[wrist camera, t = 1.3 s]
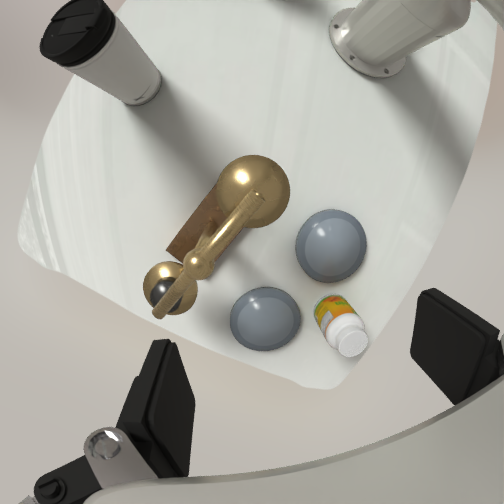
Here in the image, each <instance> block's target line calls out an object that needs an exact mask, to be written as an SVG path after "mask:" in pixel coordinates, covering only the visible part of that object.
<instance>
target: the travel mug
mask: <svg viewBox="0 0 504 504" xmlns="http://www.w3.org/2000/svg"><path fill="white" fill-rule="evenodd" d="M40 52H41V54H42V55H43V56H44V57H46V58H48V59H50V60H52V61H53V62H56V63H57V64H59V65H60V66H61V67H64V68H65V69H67V70H69V71H71V72H72V73H74V74H76V75H78V76H80V77H81V78H83V79H85V80H87V81H88V82H90V83H92V84H94V85H95V86H97V87H99V88H101V89H102V90H104V91H106V92H107V93H109V94H111V95H112V96H114V97H116V98H117V99H119V100H121V101H122V102H124V103H126V104H128V105H133V106H137V105H141V104H144V103H146V102H148V101H150V100H151V99H152V98H153V97H154V96H155V95H156V94H157V92H158V91H159V89H160V86H161V74H160V72H159V70H158V69H157V68H156V66H155V65H154V64H153V62H152V61H151V60H150V59H149V57H148V56H147V55H146V53H145V52H144V51H143V49H142V48H141V47H140V45H139V44H138V43H137V41H136V40H135V39H134V38H133V36H132V35H131V34H130V32H129V31H128V30H127V29H126V27H125V26H124V25H123V23H122V22H121V21H120V20H119V18H118V17H117V16H116V15H115V13H114V12H113V11H112V10H111V9H110V8H109V7H108V6H107V5H106V3H105V2H104V1H103V0H71V1H69V2H68V3H66V4H65V5H64V6H63V7H62V8H60V9H59V10H58V11H57V12H56V14H55V15H54V16H53V18H52V19H51V23H50V24H49V25H48V27H47V29H46V30H45V33H44V35H43V38H41V42H40Z"/></svg>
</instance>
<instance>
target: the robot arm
mask: <svg viewBox="0 0 504 504" xmlns="http://www.w3.org/2000/svg"><path fill="white" fill-rule="evenodd" d="M477 1H478V2H479V3H480V4H481V5H482V6H483V7H484V8H485V9H486V10H487V11H488V12H489V13H490V14H491V15H492V17H493V18H494V19H495V20H496V21H497V23H498V24H499V25H500V26H501V27H502V29H503V30H504V0H477ZM470 9H471V0H362V1H361V2H360V3H359V4H358V6H357V7H356V8H347V9H343V10H341V11H340V12H338V13H337V14H336V15H335V16H334V17H333V19H332V20H331V23H330V26H329V33H330V39H331V41H332V44H333V46H334V48H335V49H336V51H337V52H338V54H339V55H340V56H341V57H342V58H343V59H344V60H345V61H346V62H347V63H348V64H349V65H350V66H352V67H353V68H354V69H356V70H358V71H360V72H361V73H363V74H366V75H369V76H372V77H377V78H386V77H390V76H393V75H395V74H397V73H398V72H400V71H401V69H402V68H403V67H404V64H405V62H406V56H407V55H409V54H411V53H413V52H415V51H417V50H418V49H420V48H422V47H424V46H426V45H428V44H430V43H432V42H434V41H436V40H438V39H440V38H442V37H444V36H446V35H448V34H450V33H452V32H454V31H456V30H458V29H460V28H461V27H463V26H464V25H465V24H466V22H467V20H468V18H469V15H470ZM499 332H500V330H499V329H497V328H496V327H494V326H493V325H491V324H490V323H488V322H487V321H485V320H484V319H482V318H481V317H480V316H478V315H477V314H475V313H473V312H472V311H470V310H469V309H467V308H466V307H464V306H463V305H461V304H460V303H458V302H457V301H455V300H453V299H452V298H450V297H449V296H447V295H446V294H444V293H442V292H441V291H439V290H437V289H436V288H431V289H428V290H424V291H422V292H421V294H420V296H419V297H418V301H417V309H416V318H415V324H414V331H413V337H412V343H411V348H410V354H411V357H412V359H414V361H415V362H416V363H417V364H418V365H419V366H420V367H421V368H422V370H423V371H424V372H425V373H426V374H427V375H428V376H429V377H430V378H431V379H432V381H433V382H434V383H435V384H436V385H437V386H438V387H439V388H440V390H441V391H442V392H443V393H444V394H445V395H446V396H447V398H448V399H449V400H450V401H451V402H452V403H453V404H454V405H455V406H453V407H452V408H450V409H448V410H446V411H444V412H442V413H440V414H438V415H437V416H435V417H433V418H431V419H429V420H427V421H424V422H422V423H420V424H418V425H416V426H414V427H412V428H409V429H407V430H405V431H403V432H400V433H398V434H395V435H393V436H390V437H388V438H385V439H383V440H380V441H378V442H375V443H372V444H369V445H366V446H363V447H360V448H357V449H354V450H351V451H348V452H344V453H341V454H338V455H334V456H331V457H327V458H323V459H319V460H315V461H311V462H306V463H302V464H297V465H293V466H287V467H281V468H276V469H269V470H263V471H256V472H248V473H239V474H230V475H218V476H198V477H188V475H189V465H190V454H191V443H192V432H193V422H194V413H195V398H194V394H193V392H192V389H191V386H190V383H189V381H188V378H187V375H186V372H185V369H184V366H183V363H182V360H181V357H180V354H179V351H178V347H177V345H176V343H175V342H174V343H171V341H170V340H169V339H162V340H154V341H153V342H152V345H151V347H150V349H149V352H148V354H147V357H146V359H145V362H144V364H143V367H142V369H141V372H140V374H139V376H137V377H135V379H134V381H133V383H132V386H131V388H130V391H129V393H128V396H127V398H126V401H125V403H124V406H123V409H122V412H121V414H120V417H119V420H118V422H117V425H116V427H115V428H113V427H106V428H101V429H98V430H96V431H94V432H93V433H91V434H90V435H89V436H88V437H87V439H86V441H85V443H84V453H85V455H84V456H82V457H80V458H78V459H76V460H74V461H72V462H70V463H68V464H66V465H64V466H62V467H60V468H58V469H55V470H53V471H51V472H49V473H47V474H45V475H43V476H42V477H40V478H39V479H38V480H37V482H36V484H35V486H34V495H35V496H34V497H33V498H32V497H30V496H28V497H26V498H25V499H24V500H23V501H22V502H20V503H19V504H504V334H503V335H502V337H501V340H500V341H499V340H498V335H499Z"/></svg>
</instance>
